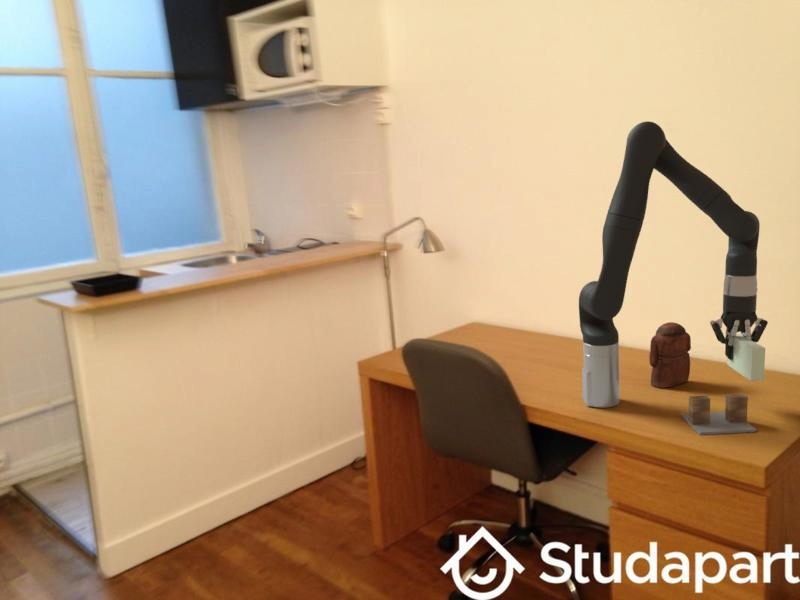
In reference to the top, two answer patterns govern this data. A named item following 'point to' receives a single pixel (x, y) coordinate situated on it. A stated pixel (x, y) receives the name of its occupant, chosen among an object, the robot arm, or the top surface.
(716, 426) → the charcoal base board
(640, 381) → the top surface
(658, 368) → the wooden figurine
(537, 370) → the top surface
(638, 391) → the top surface
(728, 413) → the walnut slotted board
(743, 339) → the pale green upright slab
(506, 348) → the top surface
